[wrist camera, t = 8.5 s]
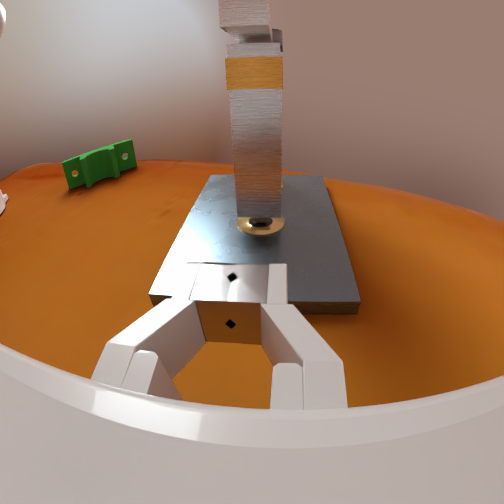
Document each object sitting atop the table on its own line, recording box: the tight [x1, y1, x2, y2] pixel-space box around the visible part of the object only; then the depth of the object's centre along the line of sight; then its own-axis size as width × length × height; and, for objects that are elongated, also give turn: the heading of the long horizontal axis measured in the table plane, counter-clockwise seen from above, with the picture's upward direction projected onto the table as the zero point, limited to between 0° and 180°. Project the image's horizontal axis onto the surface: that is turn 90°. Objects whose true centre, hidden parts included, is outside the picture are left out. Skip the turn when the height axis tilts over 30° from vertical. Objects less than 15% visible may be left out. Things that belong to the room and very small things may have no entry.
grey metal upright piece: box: [219, 0, 283, 52], centre depth 18 cm, size 4×15×15 cm, turn 175°
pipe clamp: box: [62, 139, 137, 190], centre depth 34 cm, size 11×4×5 cm, turn 121°
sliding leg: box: [225, 43, 283, 223], centre depth 17 cm, size 3×3×13 cm
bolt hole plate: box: [149, 175, 361, 314], centre depth 22 cm, size 12×18×1 cm, turn 175°
